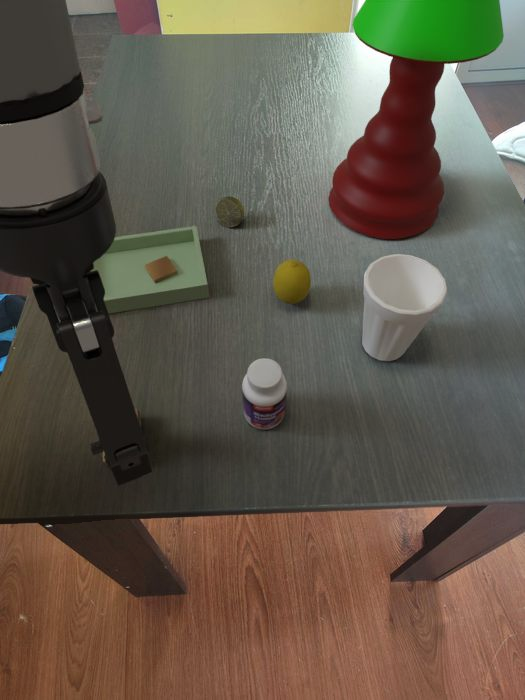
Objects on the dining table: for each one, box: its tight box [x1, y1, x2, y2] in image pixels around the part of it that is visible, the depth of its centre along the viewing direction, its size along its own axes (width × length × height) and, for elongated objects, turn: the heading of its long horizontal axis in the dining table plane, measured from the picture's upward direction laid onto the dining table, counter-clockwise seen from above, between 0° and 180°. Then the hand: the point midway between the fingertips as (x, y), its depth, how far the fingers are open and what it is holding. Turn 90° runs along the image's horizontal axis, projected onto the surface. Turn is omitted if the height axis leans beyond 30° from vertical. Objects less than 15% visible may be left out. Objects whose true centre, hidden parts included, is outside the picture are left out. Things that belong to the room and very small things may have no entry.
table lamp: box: [328, 0, 505, 240], centre depth 67 cm, size 20×20×45 cm
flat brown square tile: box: [144, 256, 178, 283], centre depth 75 cm, size 4×4×1 cm
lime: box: [215, 196, 245, 228], centre depth 80 cm, size 4×5×5 cm
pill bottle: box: [241, 357, 288, 430], centre depth 57 cm, size 5×5×10 cm
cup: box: [361, 253, 448, 362], centre depth 62 cm, size 10×10×13 cm
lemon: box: [272, 259, 312, 305], centre depth 69 cm, size 6×6×8 cm
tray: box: [90, 225, 210, 315], centre depth 74 cm, size 20×14×3 cm
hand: (111, 410), depth 40 cm, fingers open, 13 cm apart
